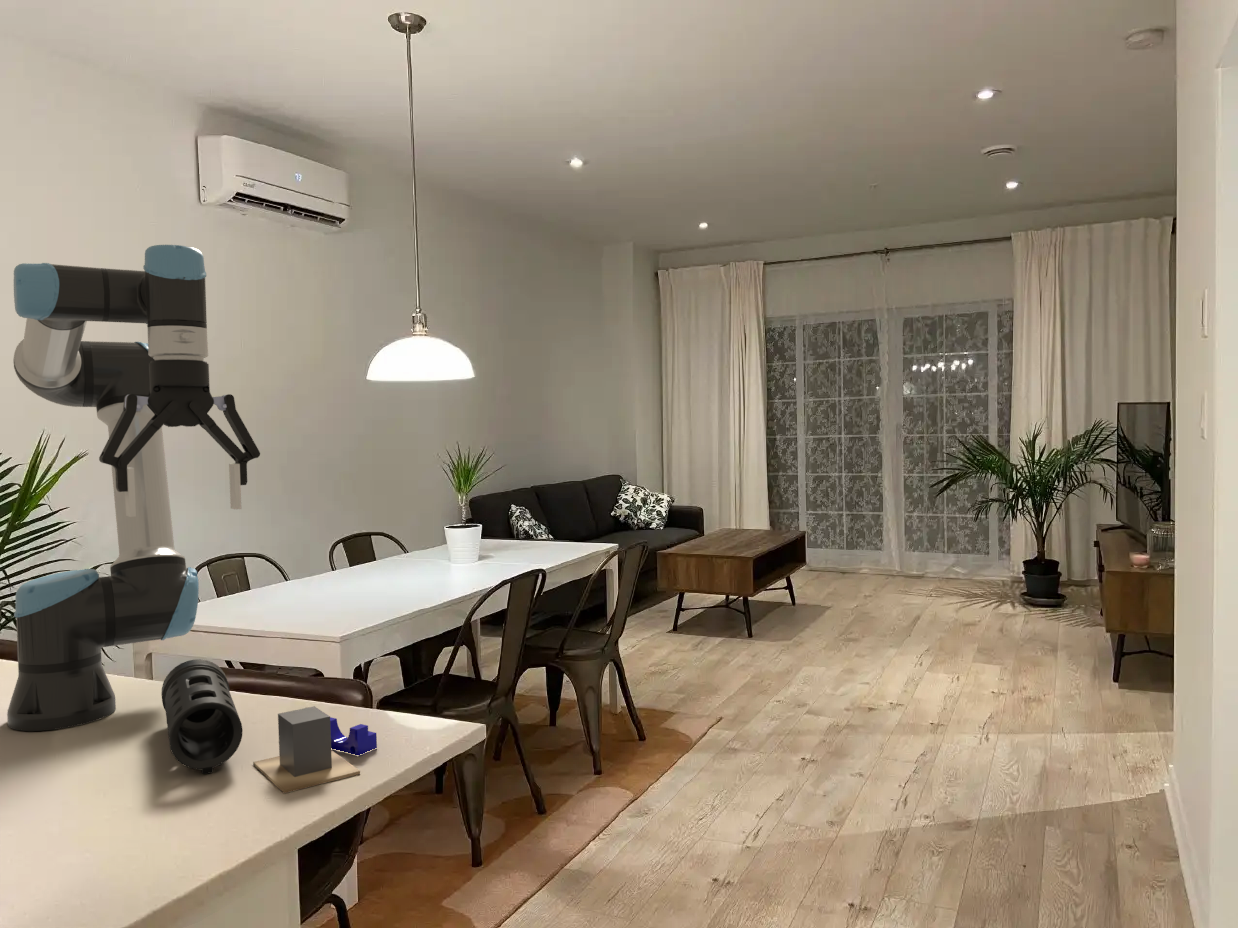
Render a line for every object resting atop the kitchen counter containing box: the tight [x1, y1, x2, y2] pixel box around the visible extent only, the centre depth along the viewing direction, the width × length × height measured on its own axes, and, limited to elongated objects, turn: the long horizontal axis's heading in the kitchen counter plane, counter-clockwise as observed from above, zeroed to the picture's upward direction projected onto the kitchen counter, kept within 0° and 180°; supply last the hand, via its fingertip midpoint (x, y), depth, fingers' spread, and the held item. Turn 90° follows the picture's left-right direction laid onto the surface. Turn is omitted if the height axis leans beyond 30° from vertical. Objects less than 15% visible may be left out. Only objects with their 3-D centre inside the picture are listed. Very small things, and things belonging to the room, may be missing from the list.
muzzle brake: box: [160, 659, 243, 775], centre depth 136 cm, size 10×28×10 cm, turn 28°
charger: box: [277, 705, 332, 777], centre depth 126 cm, size 8×5×7 cm, turn 38°
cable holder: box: [330, 716, 378, 755], centre depth 133 cm, size 8×4×4 cm, turn 58°
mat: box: [252, 750, 361, 794], centre depth 125 cm, size 13×10×1 cm
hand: (185, 512), depth 129 cm, fingers open, 13 cm apart
